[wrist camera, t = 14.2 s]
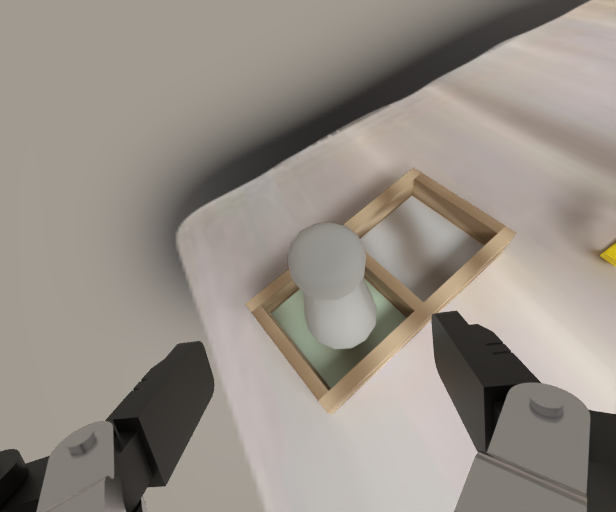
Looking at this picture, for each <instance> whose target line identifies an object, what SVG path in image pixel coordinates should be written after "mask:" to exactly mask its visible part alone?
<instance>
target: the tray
mask: <svg viewBox="0 0 616 512" xmlns="http://www.w3.org/2000/svg"><path fill="white" fill-rule="evenodd" d="M343 225H344V226H347V227H348V228H349V229H351V230H352V231H353V232H354V233H355V234H357V235H358V236H359V239H360V241H361V243H362V246H363V249H364V251H365V254H366V263H365V272H364V277H363V279H364V281H365V283H366V285H367V287H368V289H369V291H370V293H371V295H372V297H373V300H374V303H375V305H376V308H377V315H376V325H375V327H374V328H373V330H372V332H371V333H370V335H369V336H368V338H367V339H366V340H365V341H364V342H362V343H360V344H358V345H357V346H355V347H353V348H349V349H333V348H331V347H329V346H326V345H324V344H321V343H319V342H318V341H317V339H316V338H315V337H314V336H313V335H312V333H311V332H310V331H309V329H308V326H307V322H306V318H305V312H304V293H303V292H302V291H301V289H300V288H299V287H298V286H297V285H296V284H295V283H294V281H293V280H292V278H291V274H290V270H289V269H288V270H287V271H285V272H284V273H283V274H282V275H281V276H279V277H278V278H277V279H276V280H274V281H273V282H272V283H271V284H269V285H268V286H267V287H266V288H264V289H263V290H262V291H261V292H260V293H258V294H257V295H256V296H255V297H253V298H252V299H251V300H250V301H248V302H247V303H246V304H245V305H246V306H247V307H248V309H249V310H250V311H251V313H252V314H253V315H254V317H255V318H256V319H257V321H258V322H259V323H260V325H261V326H262V327H263V328H264V330H265V331H266V332H267V334H268V335H269V336H270V338H271V339H272V340H273V342H274V343H275V344H276V346H277V347H278V348H279V350H280V351H281V352H282V354H283V355H284V356H285V358H286V359H287V360H288V362H289V363H290V364H291V365H292V367H293V368H294V369H295V371H296V372H297V373H298V375H299V376H300V377H301V379H302V380H303V381H304V383H305V384H306V385H307V387H308V388H309V389H310V391H311V392H312V393H313V395H314V396H315V397H316V399H317V400H318V401H319V402H320V404H321V405H322V406H323V408H324V409H325V410H326V412H327V413H330V414H333V413H334V412H335V411H336V410H338V409H339V408H340V407H341V406H342V405H343V404H344V403H345V402H346V401H347V400H348V399H349V398H350V397H351V396H352V395H353V394H354V393H355V392H356V391H357V390H358V389H360V388H361V387H362V386H363V385H364V384H365V383H366V382H367V381H368V380H369V379H370V378H371V377H372V376H373V375H374V374H375V373H376V372H377V371H378V370H379V369H381V368H382V367H383V366H384V365H385V364H386V363H387V362H388V361H389V360H390V359H391V358H392V357H393V356H394V355H395V354H396V353H397V352H398V351H399V350H400V349H401V348H403V347H404V346H405V345H406V344H407V343H408V342H409V341H410V340H411V339H412V338H413V337H414V336H415V335H416V334H417V333H418V332H419V331H420V330H421V329H422V328H424V327H425V326H426V325H427V324H428V323H429V322H430V321H431V319H432V314H434V313H439V312H440V311H441V310H442V309H443V308H444V307H446V306H447V305H448V304H449V303H450V302H451V301H452V300H453V299H454V298H455V297H456V296H457V295H458V294H459V293H460V292H461V291H462V290H463V289H464V288H465V287H467V286H468V285H469V284H470V283H471V282H472V281H473V280H474V279H475V278H476V277H477V276H478V275H479V274H480V273H481V272H482V271H483V270H484V269H485V268H486V267H487V266H489V265H490V264H491V263H492V262H493V261H494V260H495V259H496V258H497V257H498V256H499V255H500V254H501V253H502V252H503V250H504V249H505V248H506V246H507V245H508V244H509V243H510V241H511V240H512V239H513V237H514V236H515V235H516V232H514V231H512V230H511V229H509V228H508V227H506V226H505V225H503V224H501V223H500V222H498V221H497V220H495V219H494V218H492V217H490V216H489V215H487V214H486V213H484V212H483V211H481V210H479V209H478V208H476V207H475V206H473V205H471V204H470V203H468V202H467V201H465V200H464V199H462V198H460V197H459V196H457V195H456V194H454V193H453V192H451V191H449V190H448V189H446V188H445V187H443V186H442V185H440V184H438V183H437V182H435V181H434V180H432V179H431V178H429V177H427V176H426V175H424V174H423V173H421V172H420V171H418V170H416V169H415V168H413V169H411V170H410V171H409V172H408V173H406V174H405V175H404V176H403V177H401V178H400V179H399V180H398V181H396V182H395V183H394V184H393V185H392V186H390V187H389V188H388V189H387V190H385V191H384V192H383V193H382V194H380V195H379V196H378V197H377V198H376V199H374V200H373V201H372V202H371V203H369V204H368V205H367V206H366V207H364V208H363V209H362V210H361V211H359V212H358V213H357V214H356V215H355V216H353V217H352V218H351V219H350V220H348V221H347V222H346V223H345V224H343Z"/></svg>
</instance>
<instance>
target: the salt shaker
mask: <svg viewBox="0 0 616 512" xmlns="http://www.w3.org/2000/svg"><path fill="white" fill-rule="evenodd" d="M287 262H288V267H289V270H290V274H291V278H292V280H293V281H294V283H295V284H296V285H297V286H298V287H299V288H300V289H301V291H302V292H303V293H304V312H305V318H306V322H307V326H308V329H309V331H310V332H311V333H312V335H313V336H314V337H315V338H316V339H317V341H318V342H319V343H321V344H324V345H326V346H329V347H331V348H333V349H349V348H353V347H355V346H357V345H358V344H360V343H362V342H364V341H365V340H366V339H367V338H368V336H369V335H370V333H371V332H372V330H373V328H374V327H375V325H376V315H377V308H376V305H375V303H374V300H373V297H372V295H371V293H370V291H369V289H368V287H367V285H366V283H365V281H364V279H363V277H364V272H365V263H366V254H365V251H364V249H363V246H362V243H361V241H360V239H359V236H358V235H357V234H355V233H354V232H353V231H352V230H351V229H349V228H348V227H347V226H344V225H341V224H337V223H333V222H326V223H319V224H314V225H312V226H310V227H308V228H306V229H304V230H302V231H301V232H300V233H299V234H298V235H297V237H296V238H295V239H294V240H293V242H292V243H291V245H290V249H289V253H288V256H287Z"/></svg>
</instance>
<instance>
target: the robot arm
mask: <svg viewBox="0 0 616 512" xmlns="http://www.w3.org/2000/svg"><path fill="white" fill-rule="evenodd" d="M431 320H432V334H433V347H434V358H435V363H436V367H437V370H438V373H439V376H440V378H441V380H442V382H443V384H444V386H445V388H446V390H447V392H448V394H449V396H450V398H451V400H452V402H453V404H454V406H455V408H456V410H457V412H458V414H459V416H460V418H461V420H462V422H463V424H464V426H465V428H466V430H467V432H468V434H469V435H470V437H471V439H472V441H473V443H474V445H475V447H476V449H477V451H478V453H477V454H476V456H475V459H474V461H473V464H472V466H471V469H470V471H469V474H468V477H467V479H466V482H465V485H464V487H463V490H462V492H461V495H460V498H459V500H458V503H457V506H456V508H455V511H454V512H616V414H610V413H603V412H597V411H592V410H588V409H587V407H586V406H585V405H584V404H583V403H582V401H580V400H579V399H578V398H577V397H575V396H574V395H572V394H571V393H569V392H567V391H565V390H563V389H560V388H558V387H555V386H551V385H547V384H543V383H541V382H540V381H539V380H538V379H537V378H536V377H535V376H534V375H533V374H532V373H531V372H530V371H529V369H528V368H527V367H526V366H525V365H524V364H523V363H522V362H521V361H520V360H519V359H518V358H517V357H516V356H515V355H514V354H513V353H511V350H510V349H509V348H508V347H507V346H506V345H505V344H503V342H502V341H501V340H500V339H499V338H498V337H497V336H496V335H495V334H494V332H492V331H490V330H488V329H486V328H484V327H483V326H481V325H479V324H474V325H469V324H468V323H467V322H466V321H465V320H464V318H463V317H462V316H461V315H460V314H459V313H458V312H457V311H450V312H442V313H434V314H432V319H431ZM213 392H214V378H213V375H212V371H211V368H210V364H209V361H208V358H207V354H206V351H205V348H204V346H203V344H202V342H200V341H196V342H187V343H180V344H177V345H176V346H175V348H174V349H173V350H172V351H171V352H170V353H169V355H168V356H167V357H166V358H165V359H164V360H163V361H161V362H160V363H158V364H157V365H156V366H154V367H153V368H151V369H150V371H149V372H148V373H147V374H146V375H145V376H144V377H143V378H142V381H141V382H139V383H138V384H137V385H136V386H135V387H134V390H133V391H131V392H130V393H129V394H128V395H127V397H126V398H125V399H124V400H123V401H122V402H121V403H120V404H119V406H118V407H117V408H116V409H115V410H114V411H113V413H112V414H111V415H110V416H109V417H108V418H107V419H106V420H105V421H100V422H95V423H92V424H89V425H86V426H84V427H82V428H80V429H78V430H77V431H75V432H73V433H72V434H70V435H69V436H68V437H66V438H65V439H64V440H63V441H62V442H60V443H59V444H58V445H57V447H56V448H55V449H54V450H53V451H52V453H51V455H50V456H48V457H45V458H42V459H39V460H36V461H33V462H30V463H26V464H25V462H24V460H23V458H22V457H21V455H20V453H19V451H18V450H15V449H9V450H4V451H1V452H0V512H147V509H146V503H145V500H144V498H143V494H144V492H145V490H146V489H147V487H160V486H166V484H167V482H168V481H169V479H170V477H171V475H172V473H173V471H174V469H175V467H176V465H177V463H178V461H179V459H180V457H181V455H182V453H183V452H184V450H185V448H186V446H187V444H188V442H189V440H190V438H191V436H192V434H193V432H194V430H195V428H196V427H197V425H198V423H199V421H200V419H201V417H202V415H203V413H204V411H205V409H206V407H207V405H208V403H209V401H210V399H211V398H212V395H213Z"/></svg>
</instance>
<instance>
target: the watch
mask: <svg viewBox="0 0 616 512" xmlns="http://www.w3.org/2000/svg"><path fill="white" fill-rule="evenodd" d="M600 256H601V257H602V258H603V259H605V260H606V261H608V262H609V263H610V264H612V265H613V266H616V243H615V244H613V245H612V246H611V247H609V248H608V249H607V250H605V251H604V252H603V253H602V254H600Z"/></svg>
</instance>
